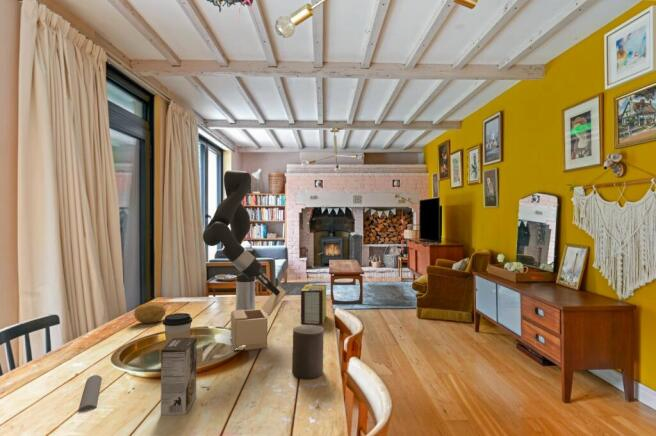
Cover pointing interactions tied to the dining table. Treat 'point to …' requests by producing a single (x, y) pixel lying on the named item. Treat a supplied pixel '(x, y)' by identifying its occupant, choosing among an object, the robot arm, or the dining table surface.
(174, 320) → the coffee cup
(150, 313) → the potato
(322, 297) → the protein box
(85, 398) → the gray half cylinder
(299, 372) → the pillar candle
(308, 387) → the dining table surface
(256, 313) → the carton
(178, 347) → the coffee box
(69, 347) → the dining table surface
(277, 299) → the flap
